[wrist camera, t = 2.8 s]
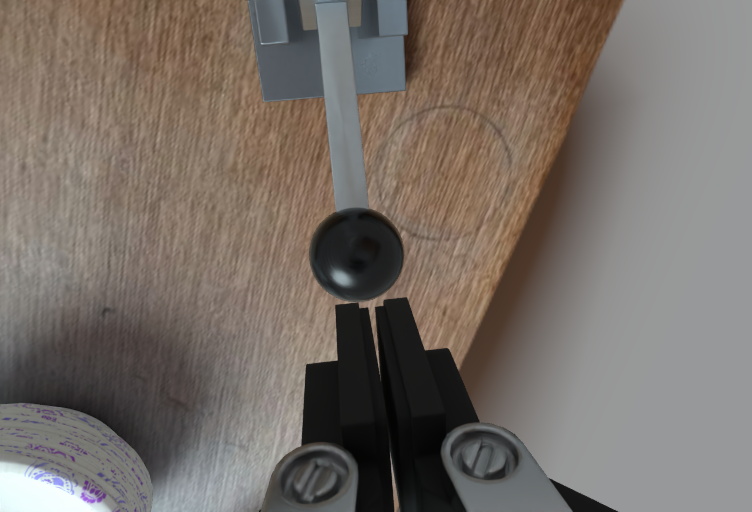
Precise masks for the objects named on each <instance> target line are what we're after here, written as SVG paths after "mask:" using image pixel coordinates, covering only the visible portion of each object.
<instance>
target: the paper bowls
mask: <svg viewBox="0 0 752 512" xmlns="http://www.w3.org/2000/svg"><path fill="white" fill-rule="evenodd" d="M152 501H153V488H152V482H150V475H149V472H148V470H147V468H146V467H145V464H144V463H143V461H142V460H141V458H140V456H139V455H138V454H137V453H136V451H135V450H134V449H132V448H131V447H130V446H129V445H128V443H126V442H125V441H123V439H122V438H121V437H119V436H118V435H117V434H116V433H115V432H114V431H113V430H112V429H110V428H109V427H108V426H107V425H105V424H104V423H102V422H101V421H99V420H98V419H96V418H94V417H92V416H90V415H87V414H85V413H82V412H79V411H76V410H72V409H68V408H62V407H53V406H47V405H39V404H30V403H27V404H25V403H13V404H0V512H151V508H152Z"/></svg>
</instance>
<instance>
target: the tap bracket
mask: <svg viewBox="0 0 752 512" xmlns="http://www.w3.org/2000/svg"><path fill="white" fill-rule="evenodd" d="M246 1H248V7H249V13H250V20H251V26H252V32H253V39H254V45H255V52H256V58H257V65H258V71H259V78H260V84H261V91H262V97H263V102H272V101H284V100H297V99H309V98H322V97H324V90H323V80H322V71H321V61H320V51H319V41H318V32H317V29H316V30H303V28H302V22H301V16H300V11H299V5H298V0H246ZM350 35H351V44H352V53H353V63H354V72H355V81H356V91H357V95H359V94H371V93H383V92H396V91H405V90H406V74H405V49H404V35H408V18H407V0H363V5H362V24H361V26H358V27H350Z"/></svg>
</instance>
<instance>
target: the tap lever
mask: <svg viewBox="0 0 752 512" xmlns="http://www.w3.org/2000/svg"><path fill="white" fill-rule="evenodd" d="M298 5H299V11H300V16H301V22H302V28H303V30H316V29H317V32H318V41H319V51H320V61H321V71H322V80H323V90H324V100H325V110H326V120H327V129H328V139H329V149H330V159H331V168H332V178H333V188H334V198H335V208H336V212H334V213H333V214H331V215H329V216H328V217H327V218H325V219H324V220H323V221H322V222H321V223H320V225H319V226H318V227H317V229H316V230H315V232H314V234H313V237H312V239H311V243H310V248H309V261H310V266H311V270H312V272H313V275H314V277H315V279H316V280H317V282H318V283H319V284H320V286H321V287H322V288H323V289H324V290H325V291H326V292H328V293H329V294H331V295H332V296H334V297H336V298H338V299H341V300H344V301H348V302H365V301H369V300H373V299H375V298H377V297H379V296H381V295H383V294H384V293H386V292H387V291H388V290H389V289H390V288H391V287H392V286H393V285H394V283H395V282H396V281H397V279H398V277H399V275H400V273H401V271H402V268H403V264H404V246H403V241H402V238H401V236H400V234H399V232H398V230H397V228H396V227H395V226H394V224H393V223H392V222H391V221H390V220H389V219H388V218H387V217H385V216H384V215H382V214H381V213H379V212H377V211H375V210H372V209H369V203H368V193H367V184H366V175H365V165H364V156H363V147H362V137H361V128H360V119H359V109H358V100H357V91H356V81H355V72H354V63H353V53H352V44H351V35H350V27H358V26H361V24H362V5H363V0H298Z"/></svg>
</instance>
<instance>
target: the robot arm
mask: <svg viewBox="0 0 752 512" xmlns="http://www.w3.org/2000/svg"><path fill="white" fill-rule="evenodd" d="M383 304H384V306H378V307H375V312H376V325H377V338H378V351H379V363H380V374H379V368H378V362H377V356H376V350H375V345H374V339H373V333H372V327H371V321H370V316H369V310H368V308H360V309H359V304H358V303H349V304H340V305H335V309H336V332H337V354H338V361H330V362H321V363H313V364H307V365H306V374H305V392H304V409H303V427H302V445H301V447H298V448H296V449H294V450H293V451H291V452H290V453H288V454H287V455H285V456H284V457H283V458H282V460H281V461H280V462H279V463H278V464H277V465H276V467H275V469H274V471H273V473H272V476H271V479H270V482H269V486H268V489H267V492H266V495H265V499H264V502H263V505H262V509H261V510H260V511H259V512H394V500H393V486H392V473H391V460H390V453H391V459H392V465H393V471H394V477H395V483H396V489H397V495H398V501H399V508H400V512H618V511H616V510H613V509H611V508H609V507H607V506H605V505H603V504H601V503H599V502H597V501H595V500H593V499H591V498H589V497H587V496H585V495H583V494H581V493H578V492H576V491H574V490H572V489H570V488H568V487H566V486H564V485H562V484H560V483H558V482H556V481H554V480H552V479H550V478H548V477H547V475H546V474H545V473H544V471H543V470H542V469H541V467H540V466H539V465H538V463H537V462H536V460H535V459H534V458H533V456H532V455H531V453H530V452H529V451H528V449H527V448H526V447H525V445H524V444H523V442H521V440H520V439H518V437H517V436H516V435H515V434H513V433H512V432H510V431H508V430H507V429H505V428H503V427H500V426H497V425H494V424H490V423H480V422H479V419H478V417H477V415H476V412H475V410H474V407H473V405H472V403H471V400H470V398H469V396H468V393H467V391H466V388H465V386H464V383H463V381H462V379H461V377H460V374H459V371H458V369H457V367H456V364H455V362H454V360H453V357H452V355H451V353H450V351H449V349H448V348H443V349H434V350H426V351H425V350H424V347H423V344H422V341H421V338H420V335H419V332H418V329H417V326H416V323H415V320H414V317H413V314H412V311H411V308H410V305H409V302H408V299H407V297H405V298H396V299H387V300H384V301H383ZM380 376H381V380H380Z"/></svg>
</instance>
